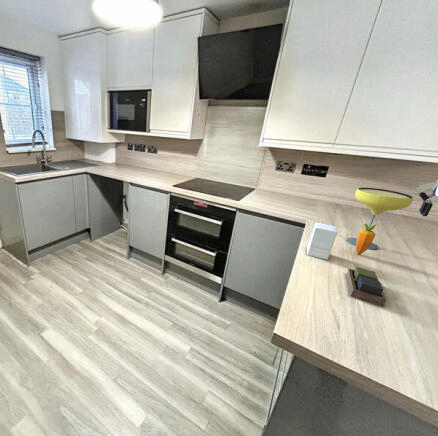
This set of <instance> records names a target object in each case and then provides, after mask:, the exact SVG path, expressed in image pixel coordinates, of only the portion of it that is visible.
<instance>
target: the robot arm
mask: <svg viewBox="0 0 438 436" xmlns="http://www.w3.org/2000/svg"><path fill="white" fill-rule="evenodd" d="M429 189H432V191H431V194H427V193H426V190H429ZM416 190H417V195H418V196H419V197H420V198H421V199H422V201H423V202H422V204H421V206H420V208H419V209H418V212H419V214H420V215H421V216H422V217H428V215H429V213H430V212H431V210H432V208H433V205H434V204H433V202H435V201H438V180H437V181H434V182H428V183H424V184H419V185H417V186H416Z"/></svg>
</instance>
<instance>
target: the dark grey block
mask: <svg viewBox="0 0 438 436" xmlns="http://www.w3.org/2000/svg"><path fill="white" fill-rule="evenodd" d="M356 289H357V290H360V291H363V292H367V293H370V294H373V295H377V296H381V294H382V292H384V288H383V286H382V283H381V281H380V280H379V281H376V280H372V279H369V278H365V277H362V276H360V277H359V279H358V282H357V284H356Z"/></svg>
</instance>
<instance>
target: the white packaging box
mask: <svg viewBox="0 0 438 436" xmlns="http://www.w3.org/2000/svg"><path fill="white" fill-rule="evenodd" d="M337 235H338V229H337V226H335V225H330V224H325V223H320V222H315V223H314V227H313V229H312V233H311V235H310V238H309V242H308V244H307V248H306V249H307V251H306V255H307V256H311V257H314V258H319V259H322V260H328V259H329V257H330V254H331V251H332V249H333V246H334V243H335V240H336V238H337Z"/></svg>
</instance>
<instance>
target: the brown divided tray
mask: <svg viewBox="0 0 438 436" xmlns="http://www.w3.org/2000/svg"><path fill="white" fill-rule="evenodd" d="M354 272H355V269H352V268H347V272H346V280H347V286H348V291H349V296H350V297H352V298H355V299H358V300H361V301H364V302H367V303H371V304H374V305H377V306H380V307H384V305H385V304H386V302H387V297H386V295H385V293H384V292H385V291H383V292H382V294H381V296H377V295H373V294H370V293H367V292H363V291H360V290H357V289H356V284H357V282H358V280H357V279H354V278H353V274H354ZM377 281H379V282H380V280H379V279H378V280H377Z"/></svg>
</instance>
